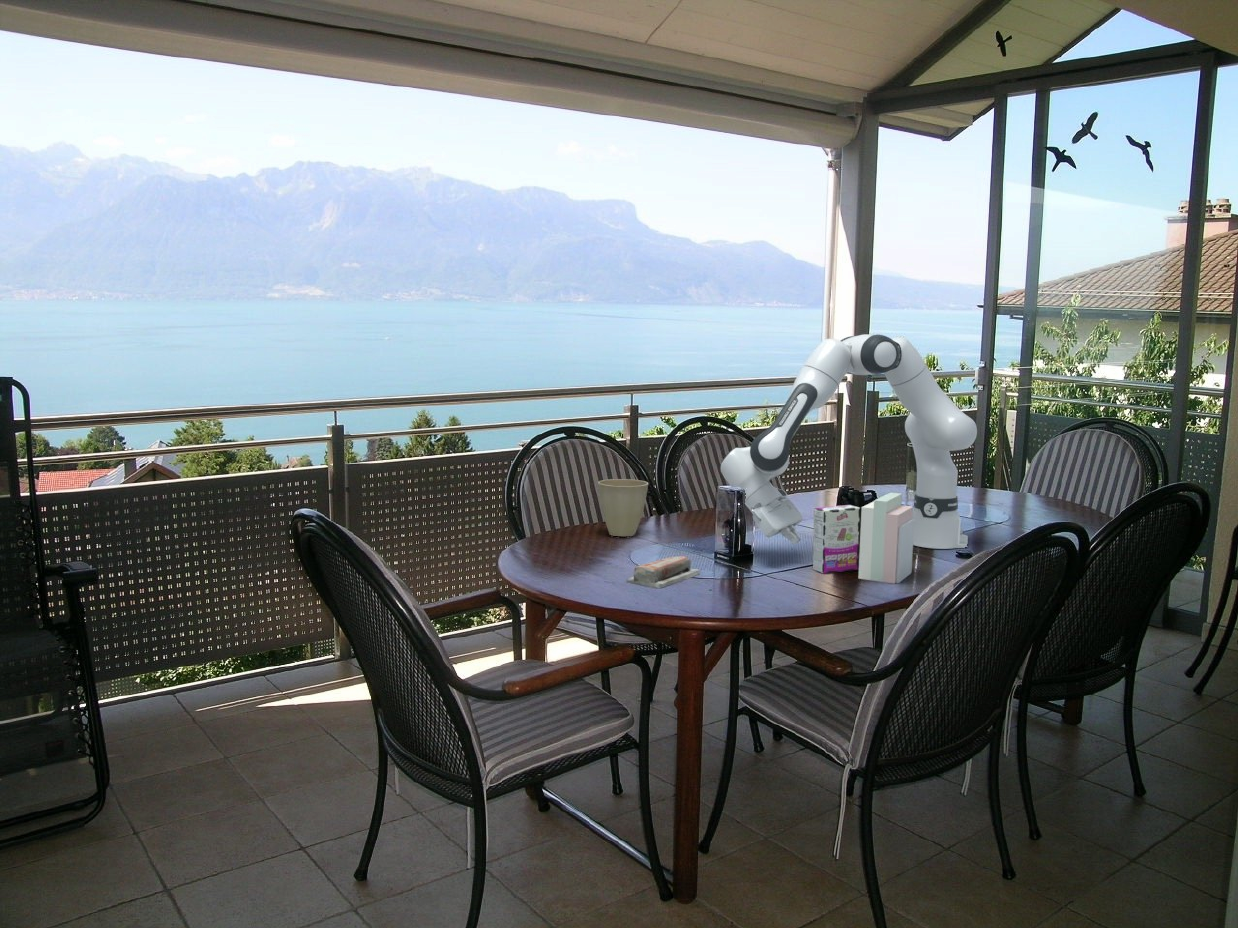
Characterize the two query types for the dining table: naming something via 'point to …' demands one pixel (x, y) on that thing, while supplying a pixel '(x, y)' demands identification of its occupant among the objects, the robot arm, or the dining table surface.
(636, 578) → the packaged product
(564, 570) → the dining table surface
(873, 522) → the book row
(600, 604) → the dining table surface
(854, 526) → the candy bar box
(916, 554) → the dining table surface
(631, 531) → the plant pot
